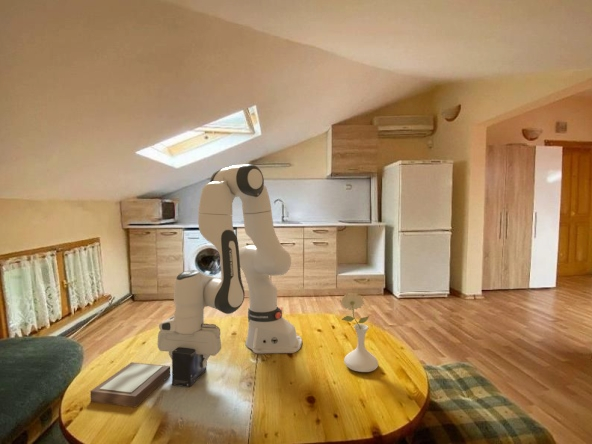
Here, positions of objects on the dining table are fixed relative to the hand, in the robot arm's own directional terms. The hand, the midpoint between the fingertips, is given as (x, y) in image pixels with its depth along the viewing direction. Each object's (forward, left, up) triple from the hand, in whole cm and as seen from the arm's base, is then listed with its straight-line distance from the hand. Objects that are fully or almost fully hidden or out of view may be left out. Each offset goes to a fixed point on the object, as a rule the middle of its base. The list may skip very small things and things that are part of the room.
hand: (189, 365), depth 95 cm
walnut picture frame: (+14, +8, -4) cm, 16 cm away
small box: (0, 0, -4) cm, 4 cm away
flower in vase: (-53, -16, -4) cm, 56 cm away
